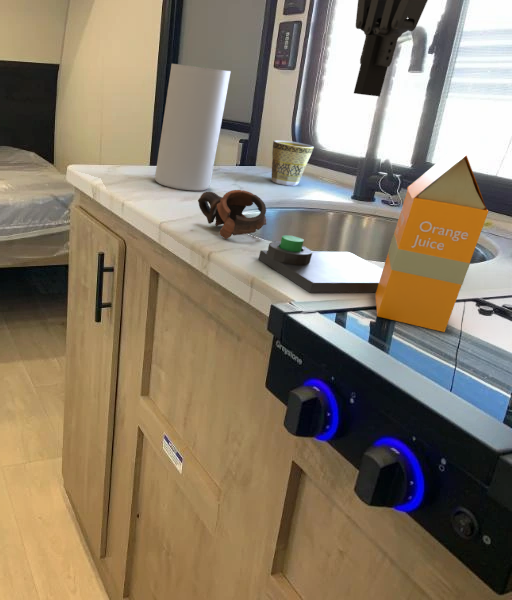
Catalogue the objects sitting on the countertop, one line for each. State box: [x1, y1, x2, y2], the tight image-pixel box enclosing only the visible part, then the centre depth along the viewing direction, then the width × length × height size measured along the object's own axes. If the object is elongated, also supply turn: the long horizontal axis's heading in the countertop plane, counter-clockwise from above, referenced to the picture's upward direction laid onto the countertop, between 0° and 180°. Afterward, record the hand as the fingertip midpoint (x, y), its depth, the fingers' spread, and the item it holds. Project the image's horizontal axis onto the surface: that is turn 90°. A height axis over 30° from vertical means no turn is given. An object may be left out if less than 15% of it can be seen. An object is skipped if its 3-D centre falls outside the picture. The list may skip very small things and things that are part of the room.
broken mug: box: [197, 189, 267, 240], centre depth 100 cm, size 12×10×8 cm
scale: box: [258, 240, 383, 294], centre depth 85 cm, size 16×13×3 cm
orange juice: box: [374, 146, 489, 333], centre depth 71 cm, size 8×9×20 cm
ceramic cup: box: [270, 139, 315, 187], centre depth 155 cm, size 13×10×10 cm
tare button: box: [280, 235, 305, 252], centre depth 85 cm, size 3×3×2 cm
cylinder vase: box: [154, 63, 232, 192], centre depth 131 cm, size 12×12×25 cm
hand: (366, 94), depth 73 cm, fingers closed
